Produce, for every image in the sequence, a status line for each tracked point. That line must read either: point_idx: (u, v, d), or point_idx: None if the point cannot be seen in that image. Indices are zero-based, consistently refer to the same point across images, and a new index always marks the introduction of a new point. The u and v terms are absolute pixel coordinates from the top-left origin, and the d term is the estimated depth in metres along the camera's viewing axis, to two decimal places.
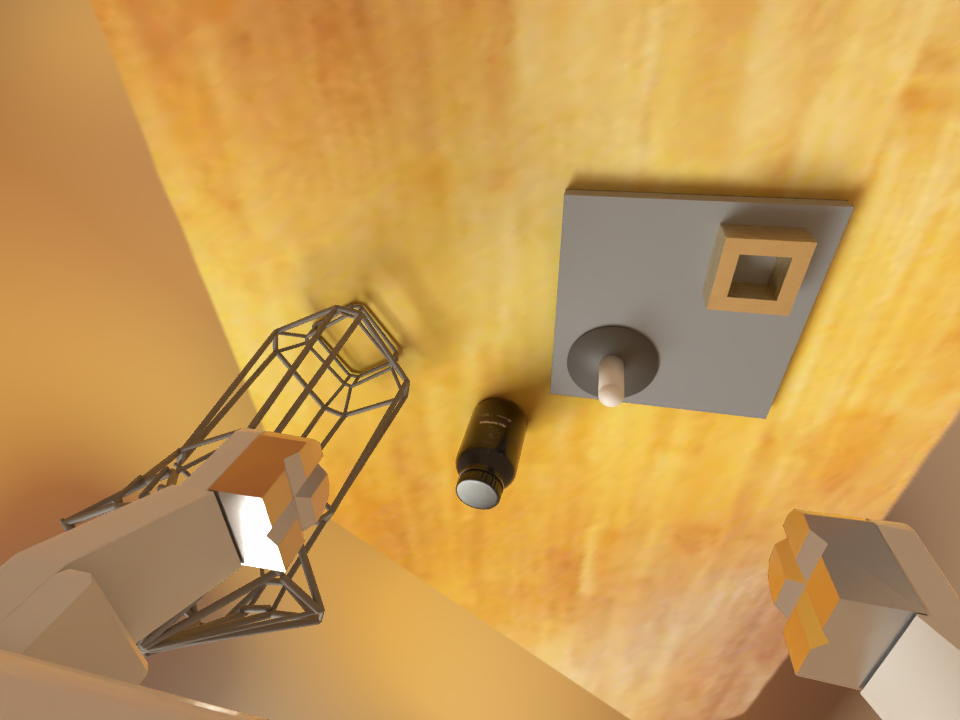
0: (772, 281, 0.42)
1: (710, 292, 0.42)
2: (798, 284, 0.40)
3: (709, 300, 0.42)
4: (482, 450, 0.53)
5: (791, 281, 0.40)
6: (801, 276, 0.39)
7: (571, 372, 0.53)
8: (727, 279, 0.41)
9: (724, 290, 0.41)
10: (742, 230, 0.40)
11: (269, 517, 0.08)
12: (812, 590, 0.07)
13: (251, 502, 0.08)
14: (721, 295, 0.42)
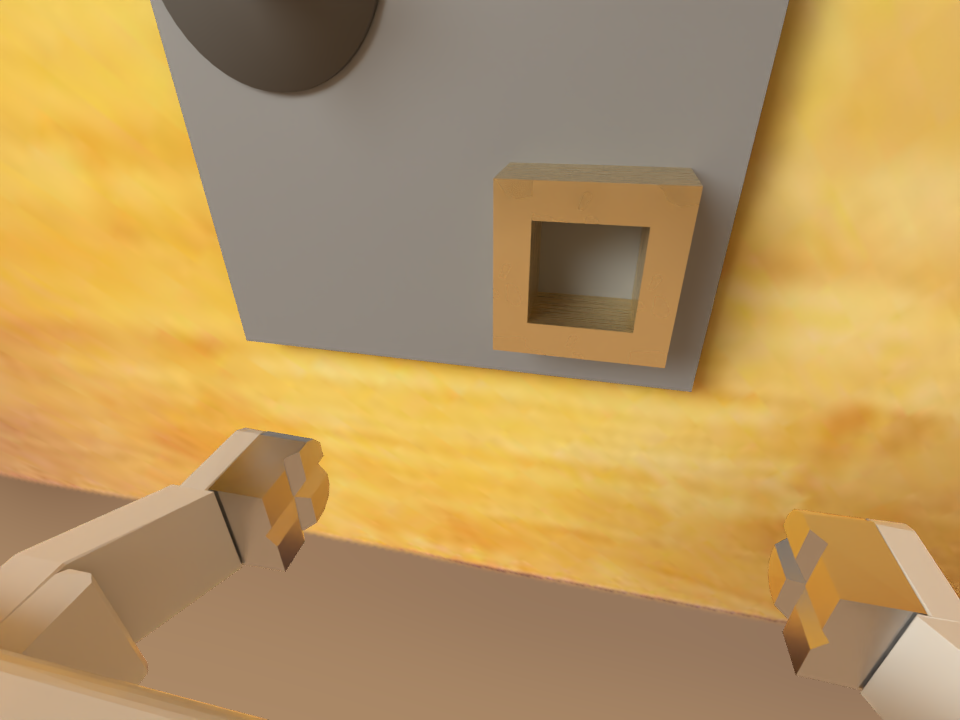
0: (550, 301, 0.20)
1: (540, 178, 0.16)
2: (567, 353, 0.19)
3: (519, 180, 0.16)
4: None
5: (574, 340, 0.19)
6: (586, 355, 0.19)
7: None
8: (581, 212, 0.16)
9: (549, 211, 0.16)
10: None
11: (269, 517, 0.08)
12: (812, 590, 0.07)
13: (251, 502, 0.08)
14: (535, 207, 0.16)
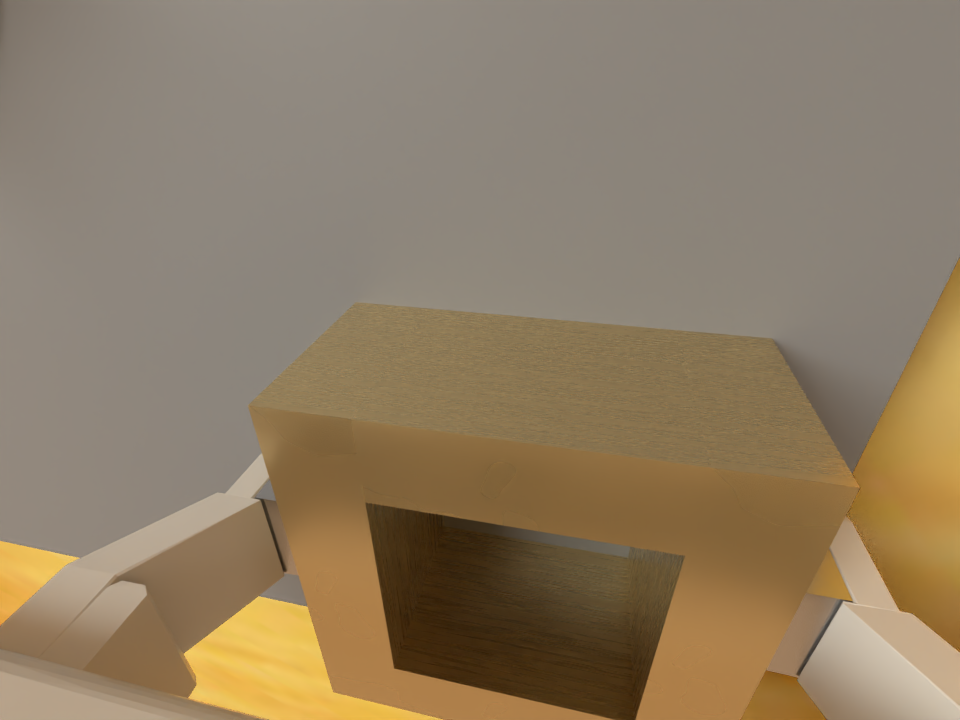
0: (462, 566, 0.10)
1: (374, 409, 0.06)
2: None
3: (315, 415, 0.06)
4: None
5: (502, 711, 0.08)
6: None
7: None
8: (490, 502, 0.06)
9: (407, 490, 0.06)
10: None
11: None
12: None
13: None
14: (369, 477, 0.06)
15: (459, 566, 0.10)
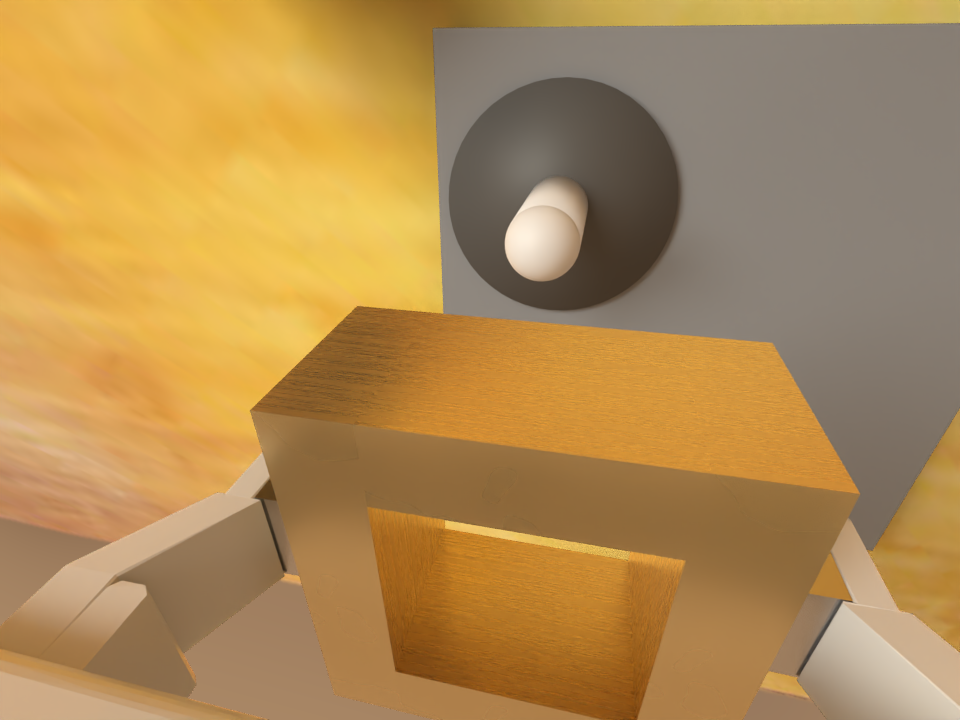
0: (463, 568, 0.10)
1: (376, 415, 0.06)
2: None
3: (317, 421, 0.06)
4: None
5: (502, 714, 0.08)
6: None
7: (524, 96, 0.18)
8: (491, 507, 0.06)
9: (409, 494, 0.06)
10: None
11: None
12: None
13: None
14: (370, 482, 0.06)
15: (460, 569, 0.10)
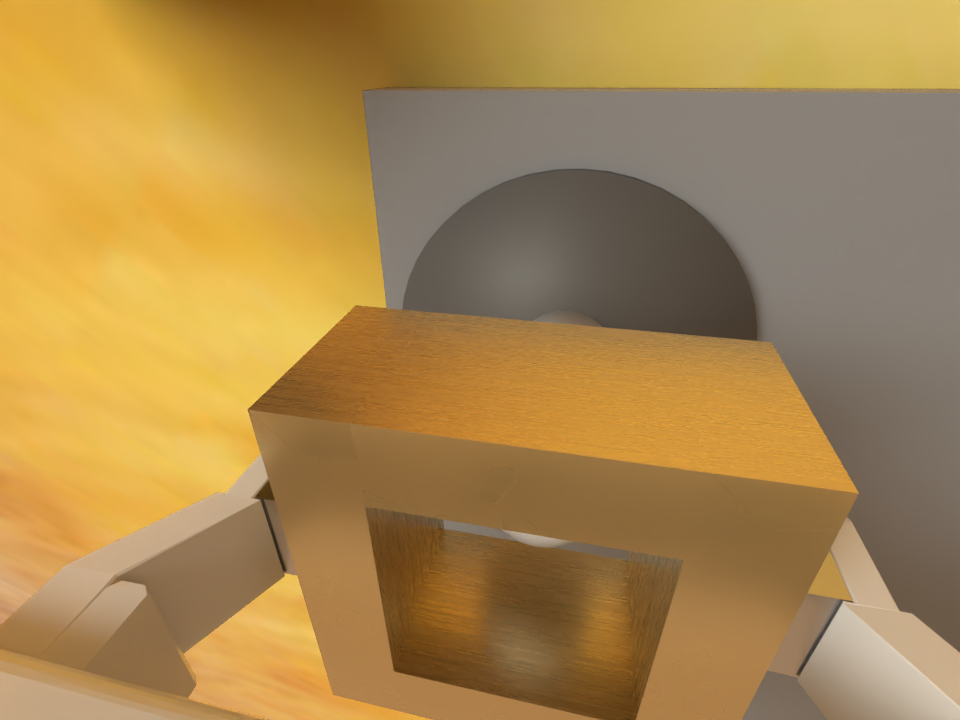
0: (462, 568, 0.10)
1: (374, 414, 0.06)
2: None
3: (315, 420, 0.06)
4: None
5: (501, 714, 0.08)
6: None
7: (511, 197, 0.11)
8: (489, 507, 0.06)
9: (407, 494, 0.06)
10: None
11: None
12: None
13: None
14: (368, 481, 0.06)
15: (459, 569, 0.10)
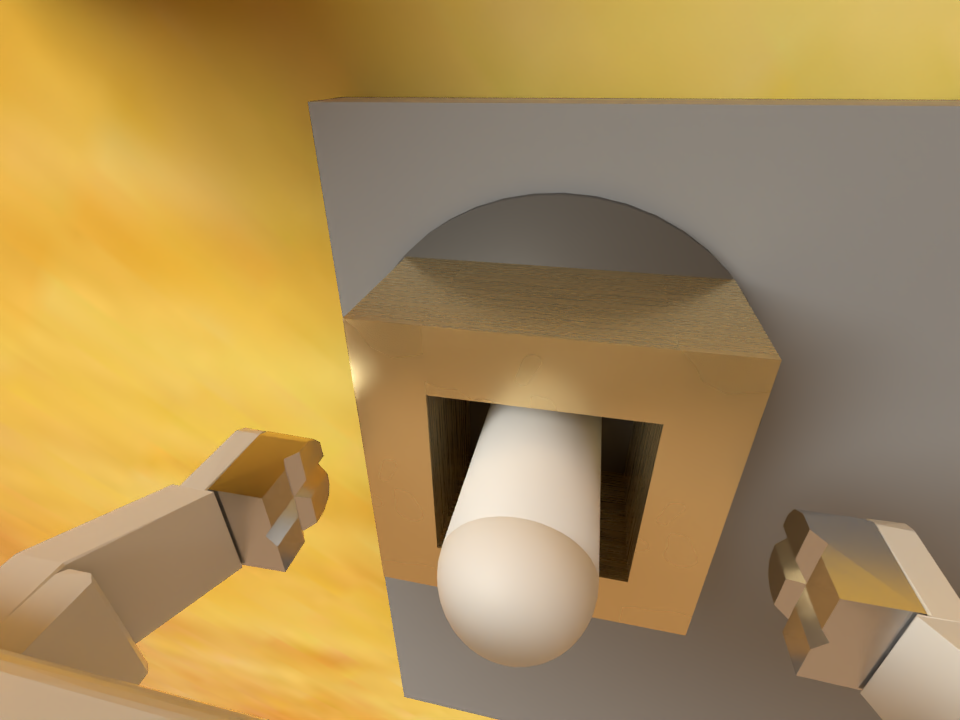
0: None
1: (437, 320, 0.08)
2: None
3: (393, 324, 0.08)
4: None
5: None
6: None
7: (483, 225, 0.10)
8: (521, 389, 0.08)
9: (459, 382, 0.08)
10: None
11: (269, 517, 0.08)
12: (812, 590, 0.07)
13: (251, 502, 0.08)
14: (430, 373, 0.08)
15: None
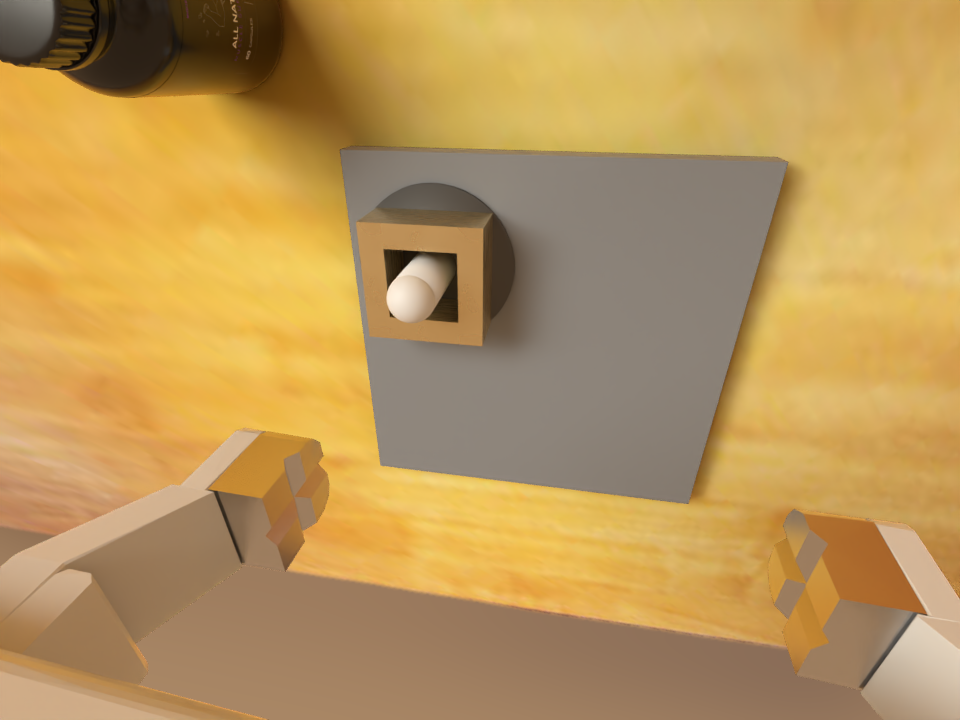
0: None
1: (386, 222, 0.25)
2: (419, 337, 0.28)
3: (372, 223, 0.25)
4: None
5: (422, 328, 0.27)
6: (431, 338, 0.27)
7: (404, 194, 0.27)
8: (413, 244, 0.25)
9: (393, 243, 0.25)
10: (488, 248, 0.26)
11: (269, 517, 0.08)
12: (812, 590, 0.07)
13: (251, 502, 0.08)
14: (384, 240, 0.25)
15: None
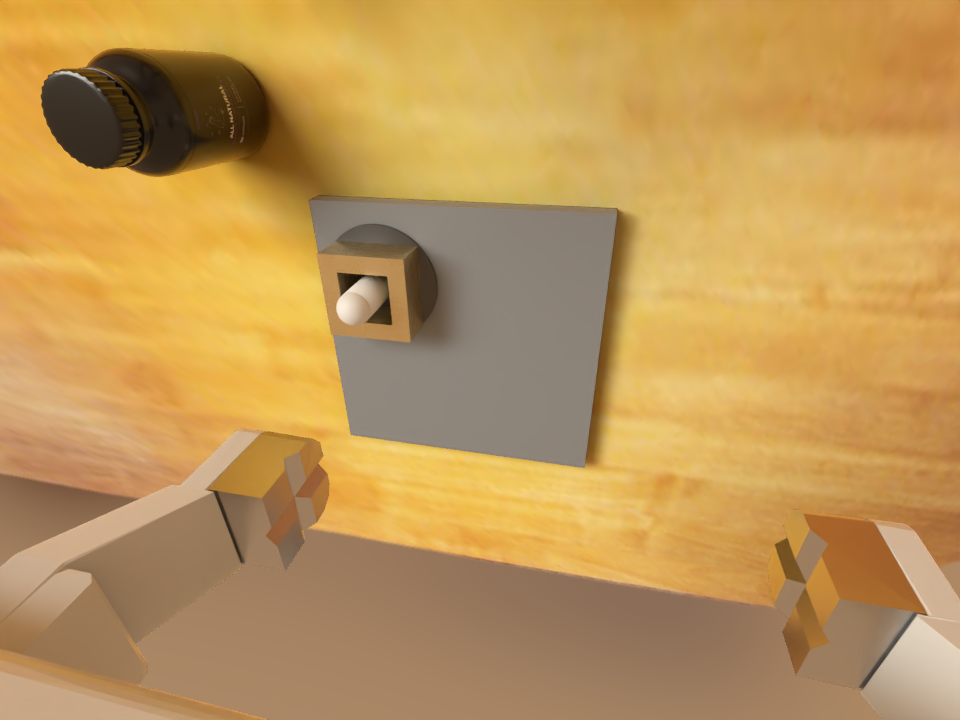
0: None
1: (337, 254, 0.35)
2: (366, 335, 0.38)
3: (328, 254, 0.35)
4: (179, 115, 0.28)
5: (367, 329, 0.38)
6: (374, 336, 0.38)
7: (355, 232, 0.37)
8: (356, 269, 0.35)
9: (343, 268, 0.35)
10: (413, 271, 0.36)
11: (269, 517, 0.08)
12: (812, 590, 0.07)
13: (251, 502, 0.08)
14: (337, 266, 0.35)
15: None
